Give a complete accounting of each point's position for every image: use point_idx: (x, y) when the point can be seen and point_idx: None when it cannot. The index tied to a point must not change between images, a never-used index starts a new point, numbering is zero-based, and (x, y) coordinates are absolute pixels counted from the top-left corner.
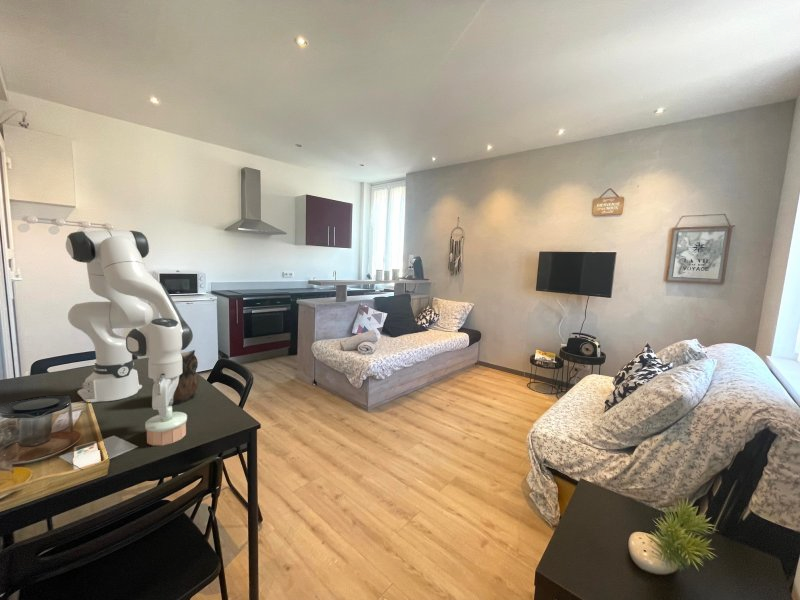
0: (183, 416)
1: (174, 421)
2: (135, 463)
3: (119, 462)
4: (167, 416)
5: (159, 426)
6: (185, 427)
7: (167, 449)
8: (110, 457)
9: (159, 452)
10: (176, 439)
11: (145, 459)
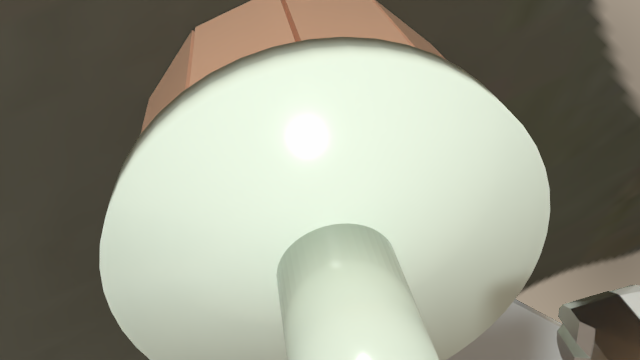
0: (263, 123)
1: (415, 168)
2: (631, 170)
3: (574, 253)
4: (410, 291)
5: (503, 255)
6: (298, 19)
7: (518, 47)
8: (517, 316)
9: (544, 89)
10: (416, 34)
11: (607, 136)
